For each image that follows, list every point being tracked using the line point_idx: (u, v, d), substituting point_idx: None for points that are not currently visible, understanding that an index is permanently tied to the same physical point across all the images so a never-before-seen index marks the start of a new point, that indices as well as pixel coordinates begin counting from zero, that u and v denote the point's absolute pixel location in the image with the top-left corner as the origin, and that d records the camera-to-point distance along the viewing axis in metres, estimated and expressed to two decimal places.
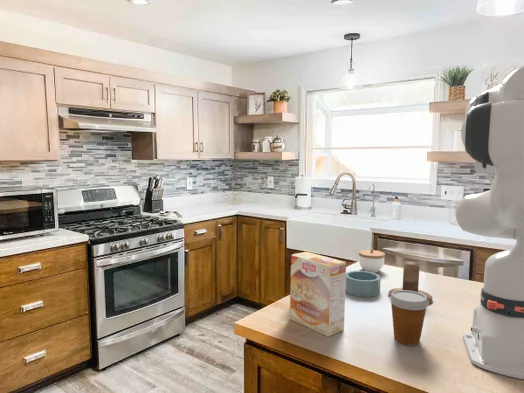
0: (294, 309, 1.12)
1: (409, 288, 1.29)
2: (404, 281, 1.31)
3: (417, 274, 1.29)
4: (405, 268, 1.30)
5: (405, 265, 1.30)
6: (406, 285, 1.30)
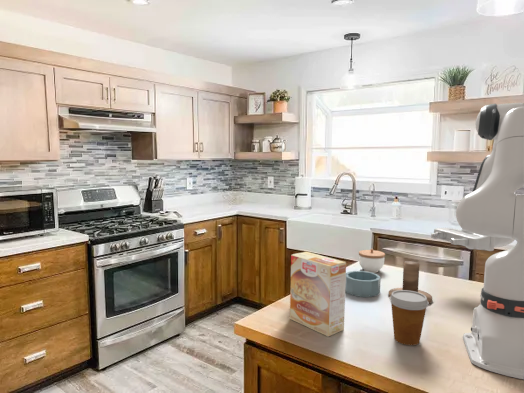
0: (294, 309, 1.12)
1: (409, 288, 1.29)
2: (404, 281, 1.31)
3: (417, 274, 1.29)
4: (405, 268, 1.30)
5: (405, 265, 1.30)
6: (406, 285, 1.30)
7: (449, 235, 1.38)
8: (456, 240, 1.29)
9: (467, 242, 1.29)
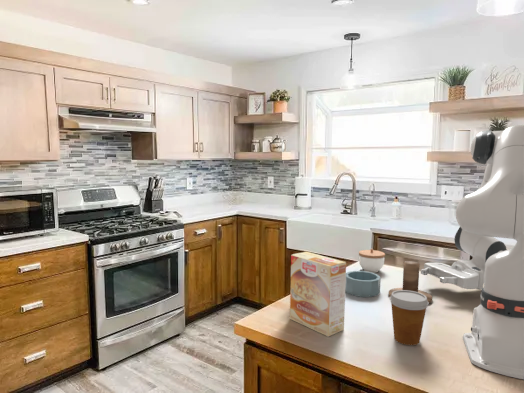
0: (294, 309, 1.12)
1: (409, 288, 1.29)
2: (404, 281, 1.31)
3: (417, 273, 1.29)
4: (405, 268, 1.30)
5: (405, 265, 1.30)
6: (406, 285, 1.30)
7: (439, 271, 1.38)
8: (445, 279, 1.29)
9: (456, 281, 1.29)
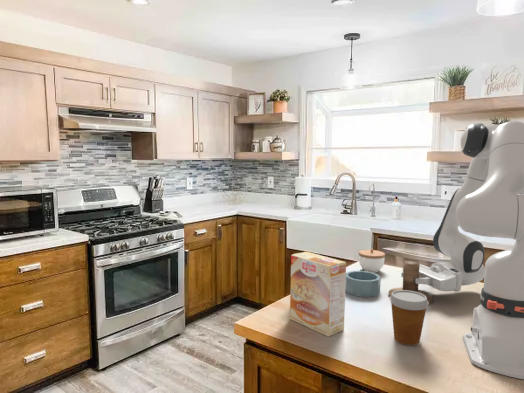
0: (294, 309, 1.12)
1: (410, 288, 1.29)
2: (404, 281, 1.31)
3: (417, 274, 1.29)
4: (405, 268, 1.30)
5: (405, 265, 1.30)
6: (407, 285, 1.30)
7: None
8: (418, 279, 1.28)
9: (429, 281, 1.28)
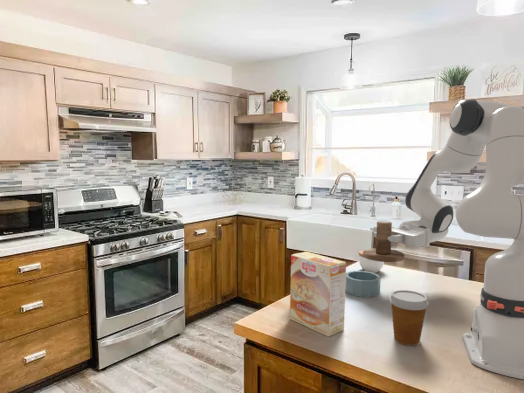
0: (294, 309, 1.12)
1: (383, 246, 1.33)
2: (378, 240, 1.34)
3: (390, 232, 1.33)
4: (379, 227, 1.34)
5: (379, 224, 1.34)
6: (381, 244, 1.34)
7: None
8: (392, 237, 1.32)
9: (402, 238, 1.32)
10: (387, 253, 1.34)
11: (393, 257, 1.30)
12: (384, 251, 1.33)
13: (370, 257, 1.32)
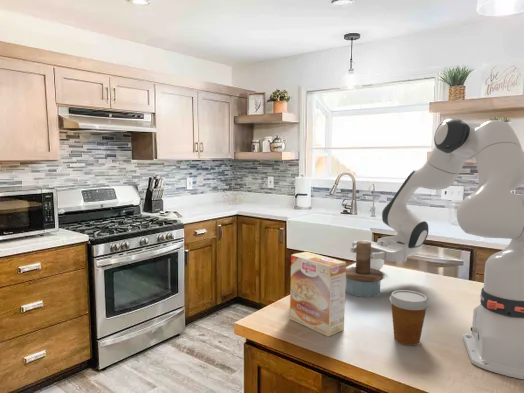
0: (294, 309, 1.12)
1: (363, 266, 1.35)
2: (358, 260, 1.36)
3: (370, 252, 1.36)
4: (359, 247, 1.35)
5: (359, 244, 1.35)
6: (361, 264, 1.35)
7: None
8: (375, 254, 1.32)
9: (384, 255, 1.33)
10: (367, 273, 1.36)
11: (373, 277, 1.32)
12: (364, 271, 1.35)
13: (351, 277, 1.33)
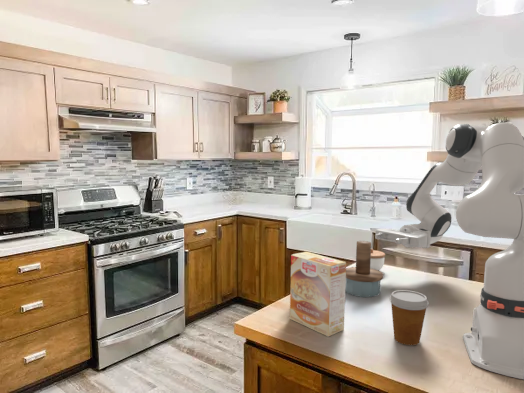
0: (294, 309, 1.12)
1: (363, 266, 1.35)
2: (358, 260, 1.36)
3: (370, 252, 1.36)
4: (359, 247, 1.35)
5: (359, 244, 1.35)
6: (361, 264, 1.35)
7: (390, 235, 1.48)
8: (400, 239, 1.39)
9: (409, 241, 1.40)
10: (367, 273, 1.36)
11: (373, 277, 1.32)
12: (364, 271, 1.35)
13: (351, 277, 1.33)
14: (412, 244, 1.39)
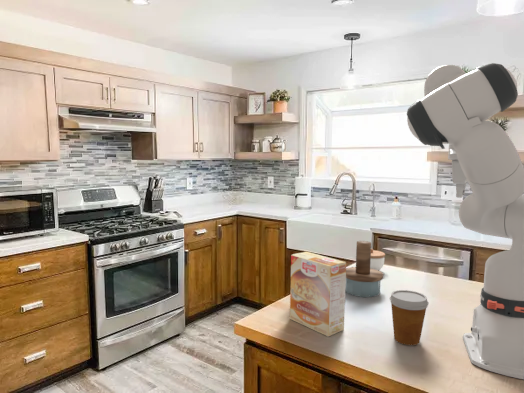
0: (294, 309, 1.12)
1: (363, 266, 1.35)
2: (358, 260, 1.36)
3: (370, 252, 1.36)
4: (359, 247, 1.35)
5: (359, 244, 1.35)
6: (361, 264, 1.35)
7: None
8: (457, 194, 1.24)
9: (460, 184, 1.23)
10: (367, 273, 1.36)
11: (373, 277, 1.32)
12: (364, 271, 1.35)
13: (351, 277, 1.33)
14: None
